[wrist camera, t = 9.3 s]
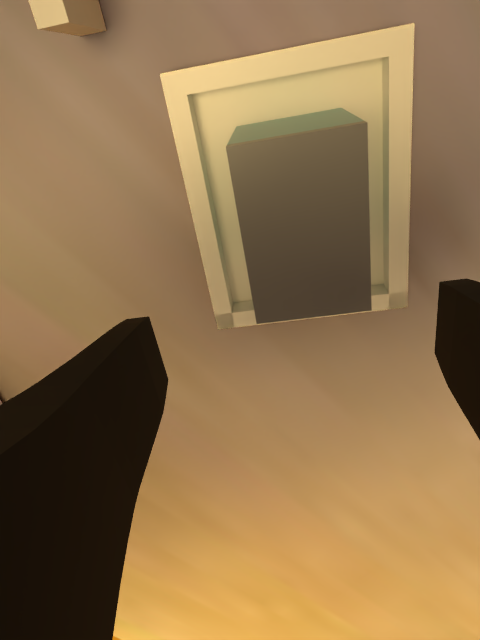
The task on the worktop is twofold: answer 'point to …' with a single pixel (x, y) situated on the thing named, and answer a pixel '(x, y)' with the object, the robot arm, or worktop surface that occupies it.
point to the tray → (286, 101)
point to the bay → (68, 16)
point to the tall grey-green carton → (304, 214)
